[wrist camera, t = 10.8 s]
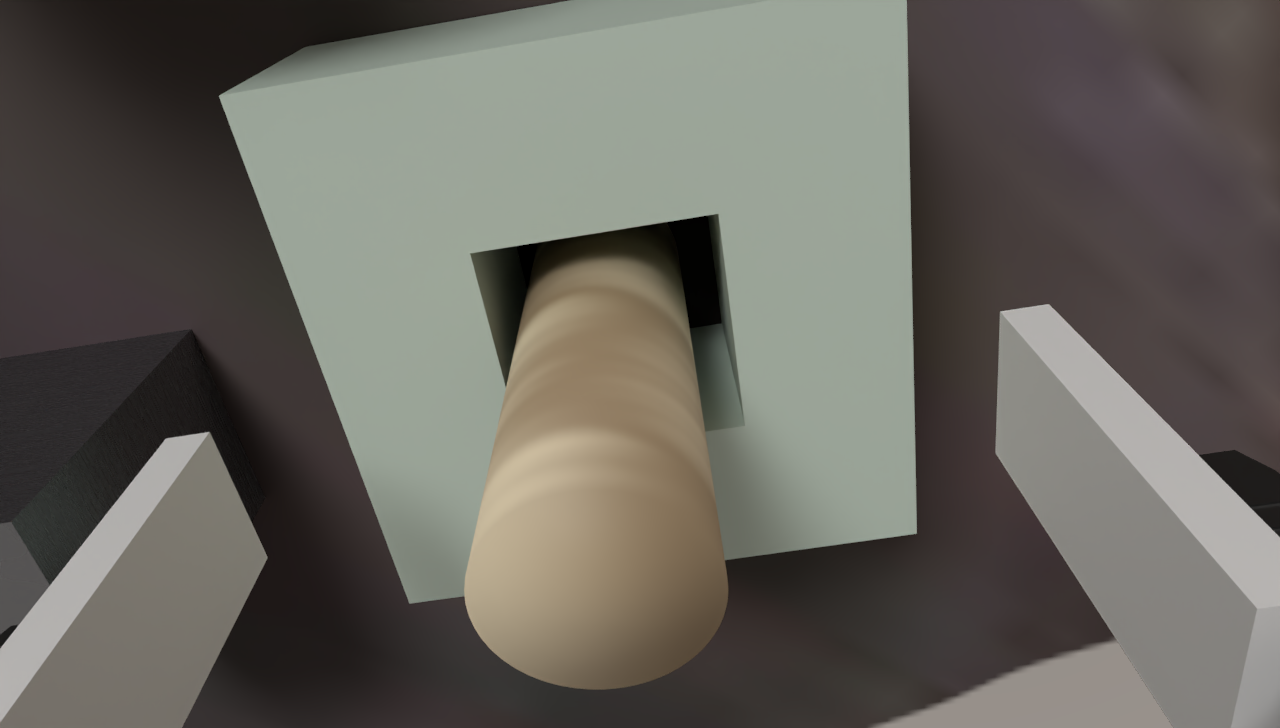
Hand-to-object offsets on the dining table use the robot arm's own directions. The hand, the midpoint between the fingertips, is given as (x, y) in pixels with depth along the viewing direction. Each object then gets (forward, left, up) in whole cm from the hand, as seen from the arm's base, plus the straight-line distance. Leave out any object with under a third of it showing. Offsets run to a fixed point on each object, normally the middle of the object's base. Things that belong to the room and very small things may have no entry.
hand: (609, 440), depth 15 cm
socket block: (0, 0, -9) cm, 9 cm away
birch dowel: (0, 0, -9) cm, 9 cm away
